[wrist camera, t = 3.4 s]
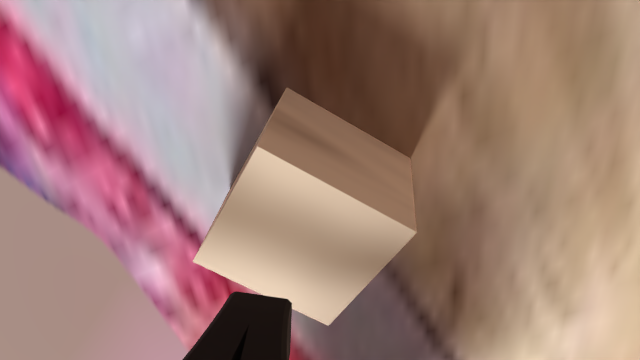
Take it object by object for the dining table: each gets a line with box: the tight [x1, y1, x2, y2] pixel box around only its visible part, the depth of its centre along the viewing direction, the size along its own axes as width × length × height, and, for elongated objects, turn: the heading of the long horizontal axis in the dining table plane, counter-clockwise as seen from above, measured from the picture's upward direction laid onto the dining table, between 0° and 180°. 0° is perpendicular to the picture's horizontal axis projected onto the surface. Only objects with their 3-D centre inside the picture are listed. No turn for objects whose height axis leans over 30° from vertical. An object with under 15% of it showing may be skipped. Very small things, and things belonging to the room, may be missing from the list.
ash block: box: [193, 87, 417, 326], centre depth 18 cm, size 6×6×5 cm
